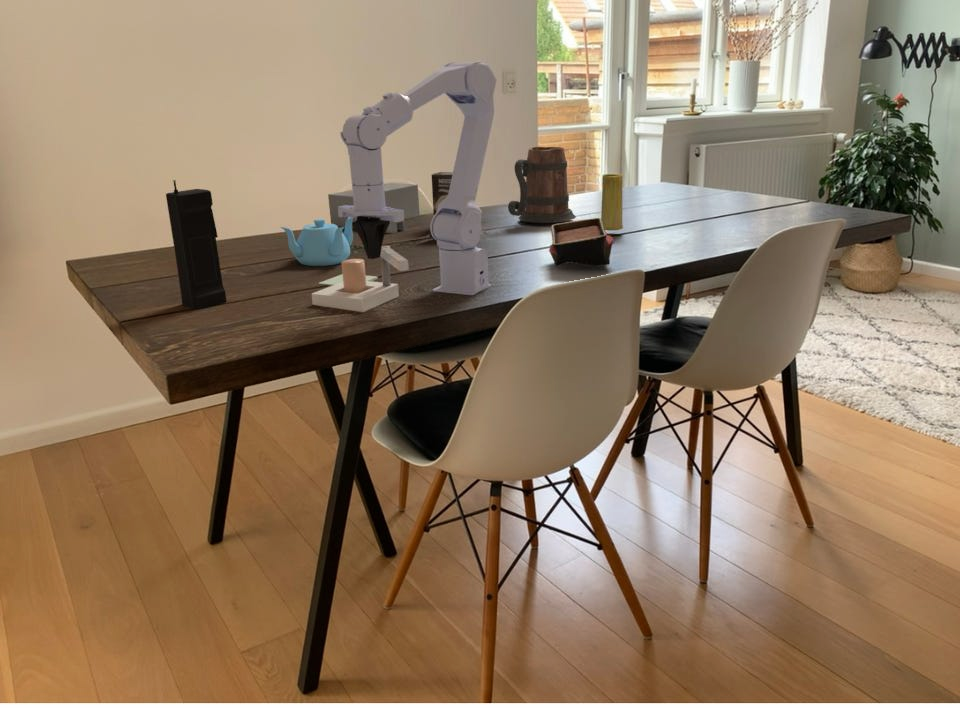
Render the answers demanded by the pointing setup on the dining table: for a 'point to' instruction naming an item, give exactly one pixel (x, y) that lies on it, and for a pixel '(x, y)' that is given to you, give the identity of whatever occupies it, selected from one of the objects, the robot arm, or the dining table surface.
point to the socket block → (362, 301)
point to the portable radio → (196, 247)
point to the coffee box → (440, 188)
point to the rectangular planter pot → (581, 243)
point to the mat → (340, 279)
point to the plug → (354, 275)
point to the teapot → (321, 243)
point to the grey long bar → (394, 258)
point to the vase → (612, 201)
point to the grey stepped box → (394, 198)
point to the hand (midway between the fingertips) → (374, 257)
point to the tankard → (542, 187)
